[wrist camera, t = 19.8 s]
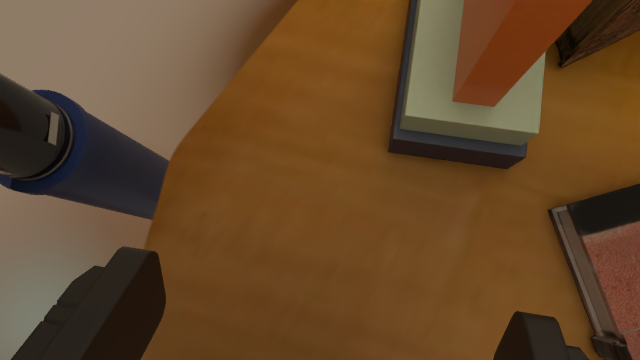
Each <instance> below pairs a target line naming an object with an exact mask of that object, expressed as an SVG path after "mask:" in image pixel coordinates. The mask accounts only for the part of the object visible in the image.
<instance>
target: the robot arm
mask: <svg viewBox="0 0 640 360" xmlns="http://www.w3.org/2000/svg"><path fill="white" fill-rule="evenodd" d="M74 141H75V129H74V125H73V122H72V119H71V118H70V116H69V114H68V113H67V112H66V111H65V110H64V109H63V108H62V107H61V106H59V105H57V104H56V103H54V102H52V101H50V100H47V99H45V98H43V97H41V96H39V95H38V94H36V93H34V92H33V91H31V90H29V89H27V88H25V87H23V86H22V85H20V84H18V83H16V82H14V81H13V80H11V79H9V78H7V77H5V76H3V75H2V74H0V174H2V175H6V176H9V177H11V178H14V179H17V180H22V181H36V180H41V179H44V178H46V177H48V176H50V175H52V174H54V173H55V172H56V171H58V170H59V169H60V168H61V167H62V166H63V165H64V164H65V162H66V161H67V159H68V158H69V156H70V154H71V152H72V149H73V146H74ZM165 304H166V294H165V288H164V283H163V277H162V272H161V266H160V261H159V256H158V254H157V253H156V252H155V251H149V250H143V249H136V248H130V247H121V248H120V249H118V250H117V252H116V253H115V254H114V256H113V257H112V258H111V260H110V261H109V262H108V264H107V265H106V266H105V267H99V266H94V267H92V268H91V269H89V270H88V271H87V272H85V273H84V274H82V275H81V276H79V277H78V278H76V279H75V280H74V281H73V282H72V283H71V284H70V285H69V286H68V288H67V289H66V290H65V292H64V293H63V294H62V295H61V297H60V298H59V299H58V300H57V304H56V305H53V307H52V308H51V309H50V311H49V312H48V313H47V315H46V316H45V317H44V321H43V322H42V321H41V322H40V323H39V325H38V326H37V327H36V328H35V330H34V331H33V332H32V333H31V335H30V336H29V337H28V339H27V340H26V341H25V342H24V344H23V345H22V346H21V347H20V349H19V350H18V351H17V352H16V354H15V355H14V356H13V358H12V359H11V360H140V359H141V357H142V356H143V354H144V352H145V350H146V348H147V346H148V344H149V342H150V340H151V339H152V337H153V335H154V333H155V331H156V329H157V327H158V325H159V323H160V321H161V319H162V316H163V313H164V309H165ZM493 360H589V359H588V358H587V356H586V355H585V354H584V353H583V351H582V350H581V349H580V348H579V347H573V346H567V345H566V344H565V341H564V338H563V335H562V332H561V329H560V326H559V323H558V321H557V320H556V319H555V318H554V317H549V316H543V315H537V314H531V313H525V312H519V311H517V312H515V313H514V314H513V316H512V318H511V320H510V322H509V324H508V326H507V329H506V331H505V333H504V335H503V337H502V339H501V341H500V343H499V346H498V348H497V350H496V352H495V355H494V359H493Z"/></svg>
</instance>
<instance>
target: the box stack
mask: <svg viewBox="0 0 640 360" xmlns="http://www.w3.org/2000/svg"><path fill="white" fill-rule="evenodd" d="M463 6H464V0H410V1H409V8H408V15H407V22H406V29H405V36H404V43H403V50H402V57H401V64H400V71H399V78H398V85H397V92H396V99H395V106H394V113H393V120H392V127H391V134H390V141H389V148H388V152H393V153H400V154H407V155H414V156H421V157H428V158H435V159H442V160H449V161H456V162H463V163H470V164H477V165H484V166H491V167H498V168H505V169H508V168H509V167H511V166H513V165H514V164H516V163H517V162H519V161H521V160H522V159H524V158H526V149H527V141H529V140H530V139H532V138H533V137H534V136H536V135H537V134H539V124H540V113H541V101H542V89H543V78H544V66H545V54H546V51H545V52H544V54H543V55H542V56H541V57H540V58H539V59H538V60H537V61H536V62H535V63H534V64H533V65H532V67H531V68H530V69H529V70H528V71H527V72H526V73H525V74H524V75H523V76H522V77H521V79H520V80H519V81H518V82H517V83H516V84H515V85H514V86H513V87H512V88H511V89H510V90H509V92H508V93H507V94H506V95H505V96H504V97H503V98H502V99H501V100H500V101H499V102H498V103H497V105H496V106H495V107H491V106H483V105H476V104H468V103H461V102H453V101H452V99H453V90H454V82H455V73H456V65H457V56H458V48H459V40H460V31H461V23H462V14H463Z"/></svg>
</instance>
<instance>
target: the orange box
mask: <svg viewBox="0 0 640 360" xmlns="http://www.w3.org/2000/svg"><path fill="white" fill-rule="evenodd" d="M591 1H592V0H464V6H463V14H462V23H461V31H460V40H459V48H458V56H457V65H456V73H455V82H454V90H453V99H452V101H453V102H461V103H468V104H476V105H483V106H491V107H495V106H496V105H497V103H498V102H499V101H500V100H501V99H502V98H503V97H504V96H505V95H506V94H507V93H508V92H509V90H510V89H511V88H512V87H513V86H514V85H515V84H516V83H517V82H518V81H519V80H520V79H521V77H522V76H523V75H524V74H525V73H526V72H527V71H528V70H529V69H530V68H531V67H532V65H533V64H534V63H535V62H536V61H537V60H538V59H539V58H540V57H541V56H542V55H543V54H544V52H545V51H546V50H547V49H548V48H549V47H550V46H551V45H552V44H553V43H554V42H555V41H556V39H557V38H558V37H559V36H560V35H561V34H562V33H563V32H564V31H565V30H566V29H567V27H568V26H569V25H570V24H571V23H572V22H573V21H574V20H575V19H576V18H577V17H578V16H579V14H580V13H581V12H582V11H583V10H584V9H585V8H586V7H587V6H588V5H589V4H590V3H591Z"/></svg>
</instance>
